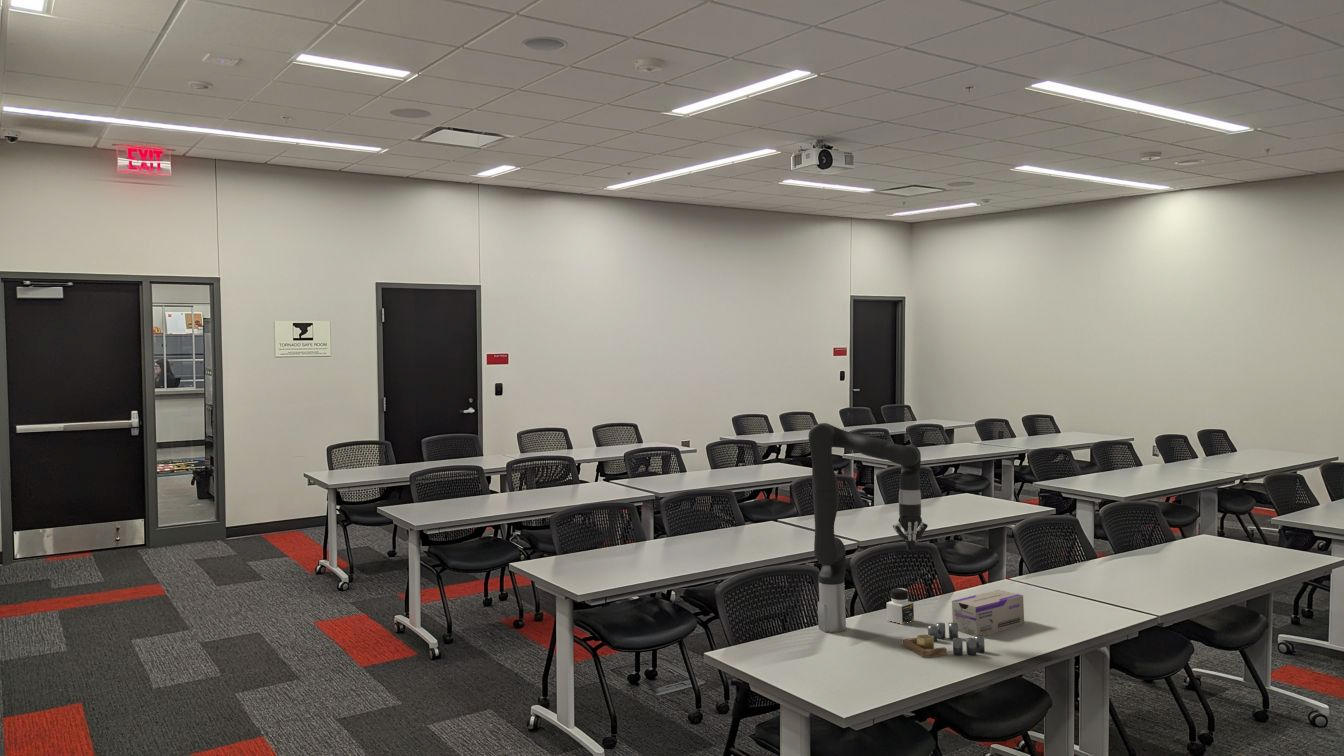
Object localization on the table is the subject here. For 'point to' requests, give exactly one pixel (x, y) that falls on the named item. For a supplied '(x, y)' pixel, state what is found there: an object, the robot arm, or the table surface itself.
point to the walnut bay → (920, 651)
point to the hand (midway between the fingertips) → (910, 550)
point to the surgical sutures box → (988, 612)
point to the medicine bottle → (900, 607)
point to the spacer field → (957, 639)
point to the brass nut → (925, 641)
